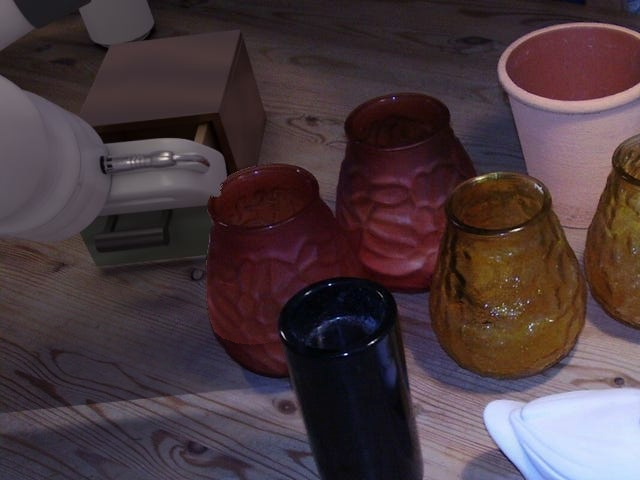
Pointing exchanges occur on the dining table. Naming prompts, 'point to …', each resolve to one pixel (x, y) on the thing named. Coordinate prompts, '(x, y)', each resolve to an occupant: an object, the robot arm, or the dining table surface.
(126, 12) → the can
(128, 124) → the cabinet
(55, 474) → the dining table surface
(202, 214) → the drawer
